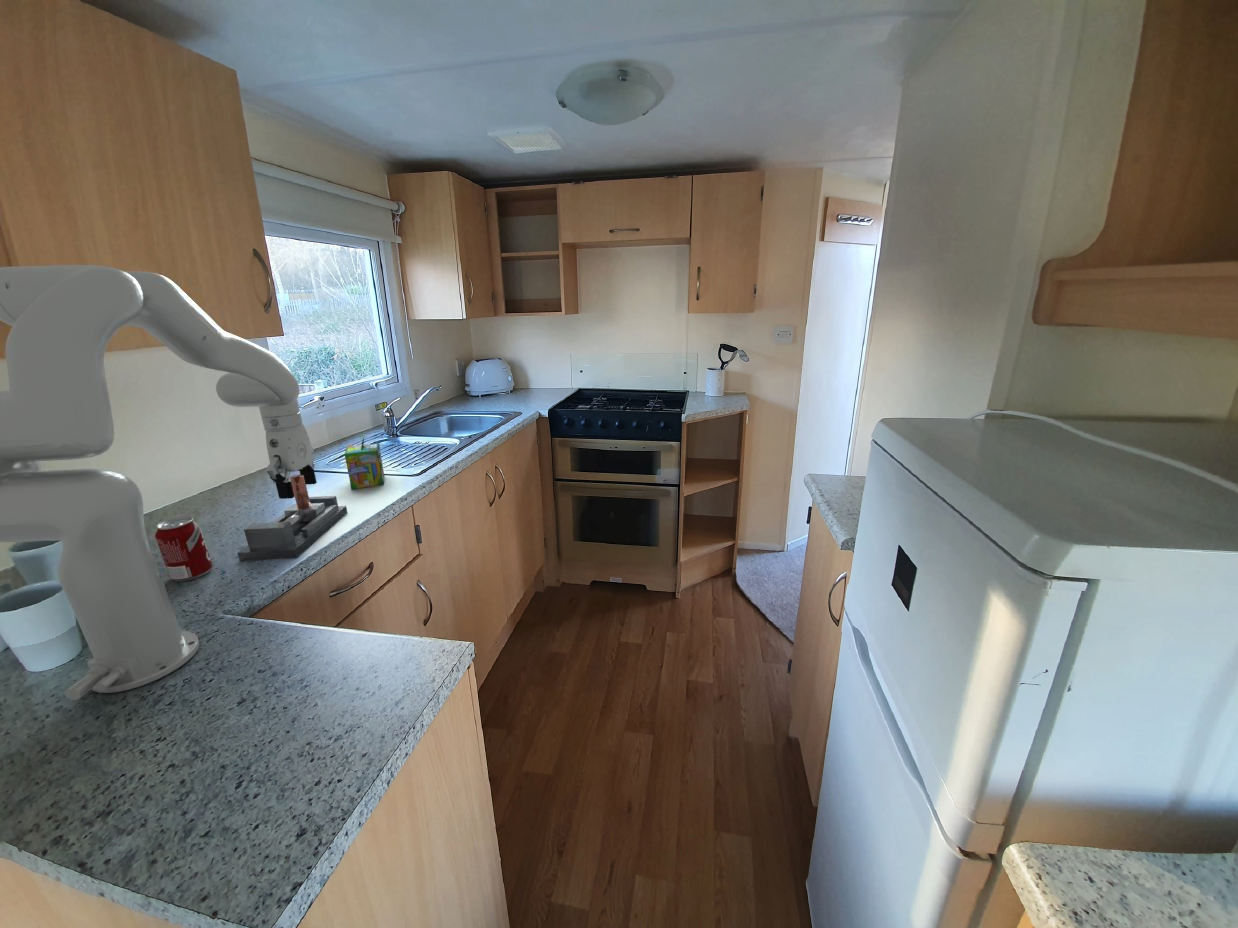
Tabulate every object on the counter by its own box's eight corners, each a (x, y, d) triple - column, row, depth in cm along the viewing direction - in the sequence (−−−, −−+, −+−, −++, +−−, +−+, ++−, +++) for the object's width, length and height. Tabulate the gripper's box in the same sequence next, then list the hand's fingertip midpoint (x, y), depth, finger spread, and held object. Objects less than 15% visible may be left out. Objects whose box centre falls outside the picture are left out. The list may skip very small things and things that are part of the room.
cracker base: (296, 558, 105) (289, 529, 103) (239, 560, 105) (230, 531, 102) (347, 512, 128) (342, 488, 126) (300, 514, 127) (294, 490, 125)
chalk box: (353, 480, 152) (344, 435, 147) (385, 476, 155) (377, 431, 151) (350, 490, 144) (340, 442, 139) (384, 485, 147) (375, 439, 142)
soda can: (189, 585, 96) (170, 531, 92) (162, 582, 97) (142, 528, 93) (222, 567, 102) (205, 516, 98) (196, 565, 103) (179, 514, 100)
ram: (304, 531, 113) (293, 487, 109) (271, 533, 112) (259, 489, 109) (326, 513, 122) (316, 473, 119) (296, 515, 122) (285, 474, 118)
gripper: (277, 429, 104) (294, 503, 109) (318, 413, 120) (332, 478, 125) (240, 431, 103) (260, 505, 109) (287, 414, 120) (302, 479, 125)
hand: (298, 490), depth 117 cm, fingers open, 9 cm apart
